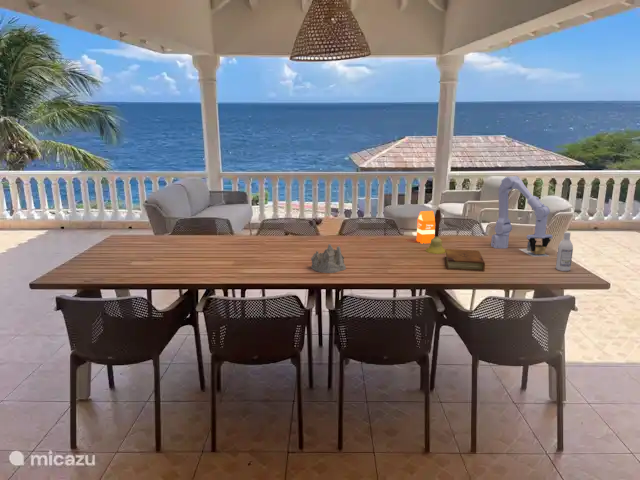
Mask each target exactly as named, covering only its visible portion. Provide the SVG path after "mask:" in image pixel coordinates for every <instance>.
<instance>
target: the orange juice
mask: <svg viewBox="0 0 640 480" xmlns="http://www.w3.org/2000/svg"><path fill="white" fill-rule="evenodd" d="M434 237H435V214H434V210H424V211H422V210H421V211H419V214H418V217H417V225H416V242H417V243H419V242H420V244H422V245H423V243H424V244H431V239H433V238H434Z"/></svg>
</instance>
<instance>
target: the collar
mask: <svg viewBox="0 0 640 480" xmlns="http://www.w3.org/2000/svg"><path fill="white" fill-rule="evenodd" d="M546 249H547V247H544V246H542V244H535V250H534V251H531V252H532V253H534V254H546Z"/></svg>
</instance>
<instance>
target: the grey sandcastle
mask: <svg viewBox="0 0 640 480" xmlns="http://www.w3.org/2000/svg"><path fill="white" fill-rule="evenodd" d="M344 259H345V257H344V255H343V254H342V249H341V246H339V245H338V246H336V249H334V247H333V246H332V244H330V243H329V244H328V246H327V248H325V250H324V251H323V252H319V251H315V252H314V254H313V255H312V256H311V258H310V260H311V267H310V268H311V269H312V270H314V271H315V272H319V273H325V274H334V273H338V272H342V271H345V270H347V266H346V264H345V261H344Z"/></svg>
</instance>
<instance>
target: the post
mask: <svg viewBox="0 0 640 480" xmlns="http://www.w3.org/2000/svg"><path fill="white" fill-rule="evenodd" d="M526 249H527V250H528V251H531V245H530V242H529V241H527V246H526Z"/></svg>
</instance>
